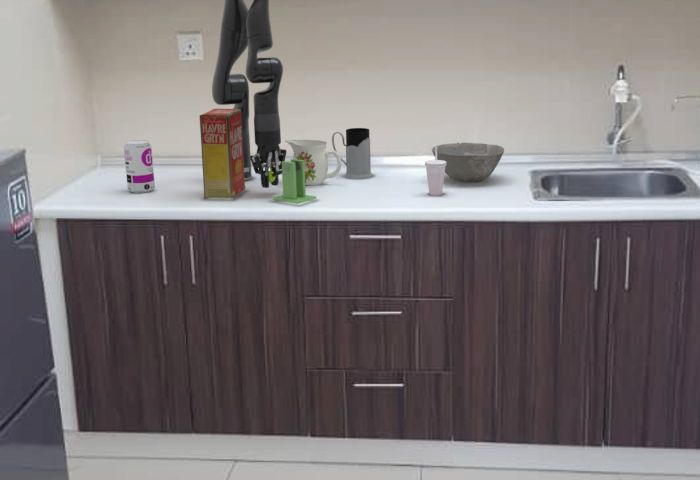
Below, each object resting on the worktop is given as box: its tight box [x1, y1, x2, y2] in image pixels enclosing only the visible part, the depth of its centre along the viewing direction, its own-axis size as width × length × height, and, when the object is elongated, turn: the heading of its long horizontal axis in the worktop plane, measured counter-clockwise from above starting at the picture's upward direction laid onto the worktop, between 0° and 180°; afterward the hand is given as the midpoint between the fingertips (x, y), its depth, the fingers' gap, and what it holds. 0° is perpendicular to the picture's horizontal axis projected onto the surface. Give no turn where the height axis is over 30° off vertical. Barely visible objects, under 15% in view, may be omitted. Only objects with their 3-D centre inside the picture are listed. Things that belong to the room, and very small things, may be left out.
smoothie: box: [424, 146, 446, 197], centre depth 289 cm, size 6×6×14 cm
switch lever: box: [268, 161, 300, 183], centre depth 286 cm, size 13×3×3 cm, turn 53°
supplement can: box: [123, 139, 156, 194], centre depth 301 cm, size 8×8×15 cm
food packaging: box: [199, 108, 246, 199], centre depth 291 cm, size 13×9×25 cm
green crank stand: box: [272, 158, 317, 205], centre depth 284 cm, size 10×8×12 cm
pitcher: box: [284, 139, 342, 186], centre depth 304 cm, size 11×18×14 cm, turn 74°
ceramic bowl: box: [431, 142, 505, 183], centre depth 308 cm, size 22×23×10 cm
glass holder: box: [331, 127, 373, 180], centre depth 317 cm, size 9×14×15 cm, turn 58°
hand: (270, 186), depth 290 cm, fingers closed on switch lever, 3 cm apart
